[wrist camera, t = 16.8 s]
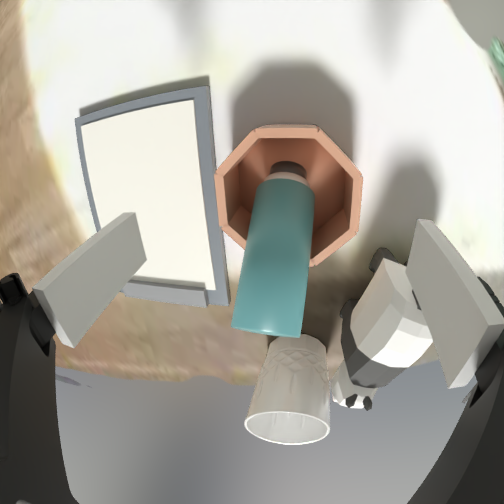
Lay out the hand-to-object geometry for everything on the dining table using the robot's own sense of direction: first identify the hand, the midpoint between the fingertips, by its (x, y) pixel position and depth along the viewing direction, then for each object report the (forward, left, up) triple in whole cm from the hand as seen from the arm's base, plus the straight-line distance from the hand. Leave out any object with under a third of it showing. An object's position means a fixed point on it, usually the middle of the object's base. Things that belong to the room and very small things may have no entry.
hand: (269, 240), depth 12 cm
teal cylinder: (-1, 0, -9) cm, 9 cm away
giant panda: (+11, +8, -10) cm, 17 cm away
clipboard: (+2, -13, -10) cm, 16 cm away
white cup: (+19, +1, -10) cm, 22 cm away
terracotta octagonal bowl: (0, 0, -10) cm, 10 cm away
